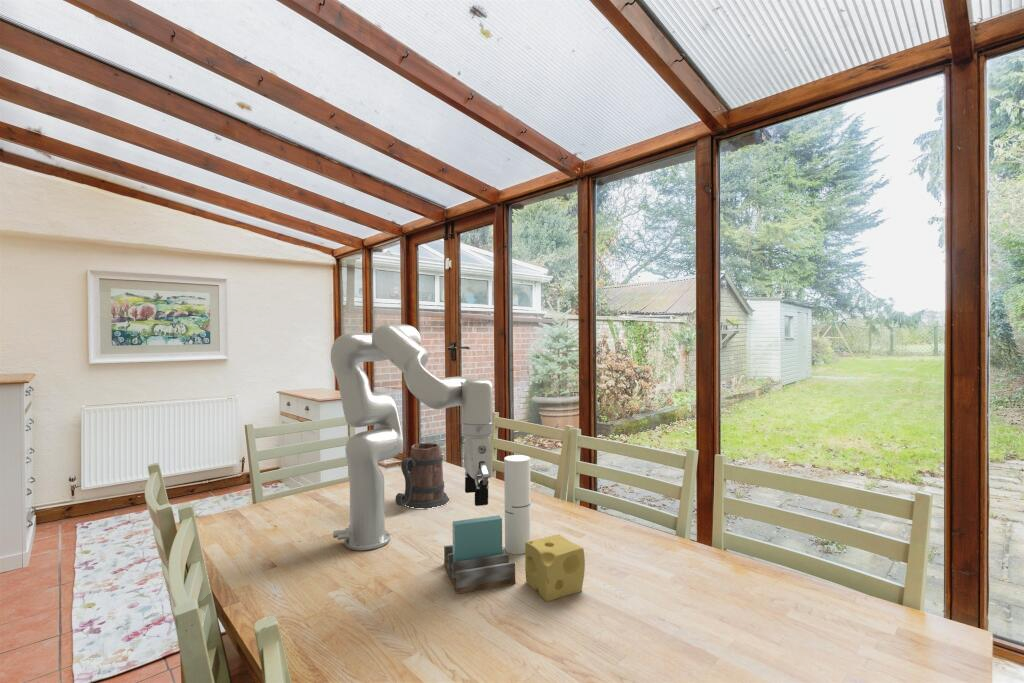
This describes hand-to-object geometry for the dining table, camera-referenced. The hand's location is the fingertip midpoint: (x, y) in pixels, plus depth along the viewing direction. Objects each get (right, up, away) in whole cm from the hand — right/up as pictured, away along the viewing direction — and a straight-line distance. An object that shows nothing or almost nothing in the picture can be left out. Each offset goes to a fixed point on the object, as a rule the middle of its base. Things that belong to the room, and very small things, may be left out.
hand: (476, 498), depth 120 cm
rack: (+1, -19, 0) cm, 19 cm away
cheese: (+19, -19, -7) cm, 27 cm away
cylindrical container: (+11, -19, +14) cm, 25 cm away
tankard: (-23, -19, +51) cm, 59 cm away
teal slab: (0, -17, 0) cm, 17 cm away
